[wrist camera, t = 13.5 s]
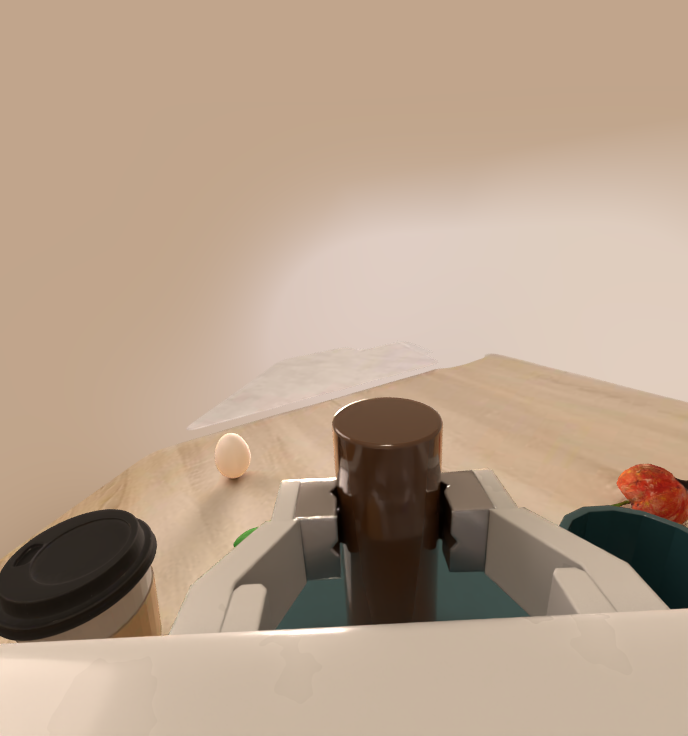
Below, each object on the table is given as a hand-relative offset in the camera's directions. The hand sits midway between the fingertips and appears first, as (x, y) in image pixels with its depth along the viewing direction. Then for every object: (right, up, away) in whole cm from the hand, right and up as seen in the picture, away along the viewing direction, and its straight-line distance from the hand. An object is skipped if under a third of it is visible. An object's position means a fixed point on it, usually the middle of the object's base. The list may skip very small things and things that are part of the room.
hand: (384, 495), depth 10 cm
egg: (-18, -14, +48) cm, 53 cm away
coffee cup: (-19, -23, +20) cm, 36 cm away
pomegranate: (+35, -15, +34) cm, 51 cm away
